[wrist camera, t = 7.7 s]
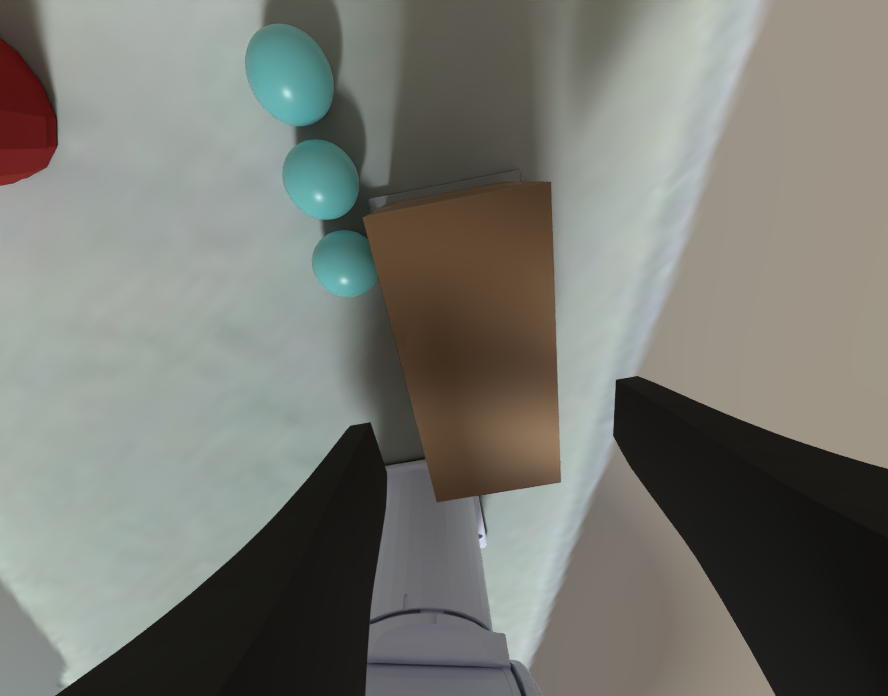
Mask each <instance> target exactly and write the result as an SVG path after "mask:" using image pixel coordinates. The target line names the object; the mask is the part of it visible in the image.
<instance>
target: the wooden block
mask: <svg viewBox="0 0 888 696" xmlns="http://www.w3.org/2000/svg"><path fill="white" fill-rule="evenodd" d="M363 221H364V225H365V229H366V233H367V236H368V240H369V244H370V248H371V252H372V256H373V259H374V263H375V267H376V271H377V275H378V279H379V282H380V286H381V290H382V294H383V298H384V302H385V305H386V309H387V313H388V317H389V321H390V325H391V328H392V332H393V336H394V340H395V344H396V348H397V351H398V355H399V359H400V363H401V367H402V371H403V374H404V378H405V382H406V386H407V390H408V394H409V397H410V401H411V405H412V409H413V413H414V417H415V420H416V424H417V428H418V432H419V436H420V440H421V443H422V447H423V451H424V455H425V459H426V463H427V466H428V470H429V474H430V478H431V482H432V486H433V489H434V493H435V497H436V501H437V502H443V501H449V500H455V499H461V498H467V497H473V496H480V495H486V494H492V493H498V492H504V491H510V490H517V489H523V488H529V487H535V486H541V485H547V484H553V483H560V482H561V472H560V442H559V412H558V382H557V352H556V322H555V292H554V262H553V232H552V202H551V182H500V183H494V184H489V185H484V186H479V187H474V188H468V189H463V190H458V191H453V192H448V193H442V194H437V195H432V196H427V197H421V198H416V199H411V200H406V201H401V202H395V203H390V204H386V205H384V206H382V207H380V208H379V209H377V210H375V211H373V212H372V213H370V214H368V215H366V216H365V217H363Z"/></svg>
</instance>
